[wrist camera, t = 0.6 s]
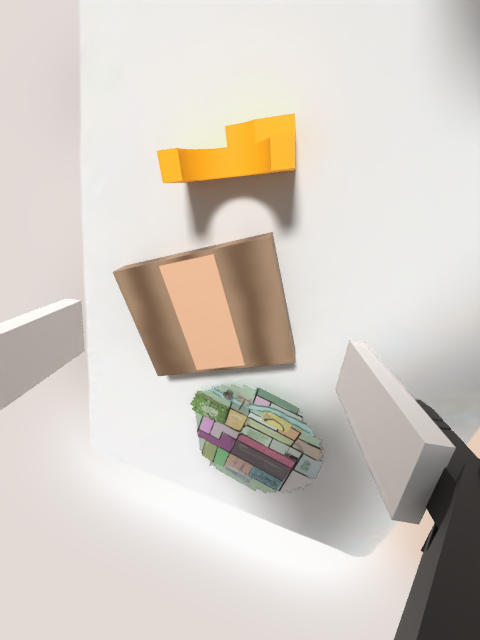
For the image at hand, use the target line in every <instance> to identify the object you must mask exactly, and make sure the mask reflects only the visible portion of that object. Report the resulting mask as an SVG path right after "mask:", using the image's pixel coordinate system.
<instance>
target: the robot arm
mask: <svg viewBox="0 0 480 640" xmlns="http://www.w3.org/2000/svg"><path fill="white" fill-rule="evenodd" d="M83 351H84V336H83V321H82V304H81V300H75V299H68V298H66V299H63V300H60V301H58V302H55V303H52V304H49V305H47V306H44V307H41V308H39V309H36V310H33V311H31V312H28V313H26V314H23V315H20V316H18V317H15V318H12V319H9V320H7V321H4V322H1V323H0V410H2V409H3V408H4V407H6V406H7V405H9V404H10V403H11V402H13V401H14V400H16V399H17V398H18V397H20V396H21V395H23V394H24V393H26V392H27V391H29V390H30V389H31V388H33V387H34V386H36V385H37V384H38V383H40V382H41V381H43V380H44V379H45V378H47V377H48V376H50V375H51V374H53V373H54V372H55V371H57V370H58V369H60V368H61V367H62V366H64V365H65V364H66V363H68V362H70V361H71V360H72V359H73V358H75V357H77V356H78V355H79V354H81V353H82V352H83ZM336 392H337V394H338V397H339V399H340V401H341V403H342V406H343V408H344V410H345V413H346V415H347V417H348V420H349V422H350V424H351V427H352V429H353V431H354V434H355V436H356V438H357V441H358V443H359V445H360V447H361V450H362V452H363V454H364V457H365V459H366V461H367V464H368V466H369V468H370V471H371V473H372V475H373V478H374V480H375V482H376V485H377V487H378V489H379V491H380V494H381V496H382V498H383V501H384V503H385V505H386V508H387V510H388V512H389V515H390V517H391V519H392V520H397V521H403V522H408V523H414V524H419V523H420V521H421V519H422V517H423V515H424V513H425V511H426V509H427V510H428V512H429V513H430V515H431V517H432V519H433V520H434V522H435V524H434V526H433V527H432V530H431V531H430V533H429V535H428V537H427V539H426V541H425V544H424V546H423V547H422V549H421V551H422V552H423V555H422V558H421V561H420V564H419V567H418V570H417V573H416V576H415V579H414V582H413V585H412V588H411V591H410V594H409V597H408V599H407V602H406V606H405V608H404V611H403V614H402V617H401V620H400V623H399V626H398V629H397V632H396V635H395V638H394V640H480V459H478V458H477V457H476V456H475V454H474V453H473V452H472V451H471V450H470V449H469V448H468V447H467V446H466V445H465V443H464V442H463V441H462V440H461V439H460V438H459V437H458V436H457V435H456V434H455V433H454V431H451V428H450V427H449V426H448V425H447V424H446V423H445V422H443V419H442V418H441V417H440V416H439V415H438V414H437V413H436V412H435V411H434V410H433V409H432V408H430V407H429V406H428V405H426V404H425V403H423V402H422V401H421V400H416V399H414V398H413V397H412V396H411V395H410V394H409V392H408V391H407V390H406V389H405V388H404V387H403V385H402V384H401V383H400V382H399V381H398V380H397V378H396V377H395V376H394V375H393V374H392V373H391V371H390V370H389V369H388V368H387V367H386V366H385V364H384V363H383V362H382V361H381V360H380V359H379V357H378V356H377V355H376V354H375V353H374V352H373V350H372V349H371V348H370V347H369V346H368V345H367V343H366V342H359V341H352V340H349V343H348V347H347V350H346V354H345V358H344V361H343V365H342V368H341V372H340V375H339V379H338V383H337V386H336Z"/></svg>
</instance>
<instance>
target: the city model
mask: <svg viewBox="0 0 480 640" xmlns="http://www.w3.org/2000/svg"><path fill="white" fill-rule="evenodd" d="M202 388H203V387H202ZM211 391H212V392H211ZM211 391H209V390H208V391H205V393H203V392H202V391H198V392H197V394H195V395H196V397H194V398H193V399H194V400H193V401H192V403H190V404H191V405H193V406H195V407H194V408H192V409H193V410H194V411H196V419H197V427H198V430H197V432H198V436H199V444H200V450H201V451H202V455H203V456H205V457H206V458H208V459H209V460H211V461H212V462H211V461H210V462H211V463H212V465H213V466H215V467H216V469H218V470H220V471H221V472H223V473H225V474H227V475H228V476H230V477H232V478H234V479H235V480H237V481H239V482H241V483H242V484H244V485H246V486H248V487H249V488H251V489H253V490H254V491H255V490H256V489H257V488H258V489H260V490H261V491H263V492H265V493H266V492H267V491H268V492H276V491H277V490H278V491H280V492H282V493H283V492H286V491H287V492H289V493H290V492H291V490H293V489H294V490H296V489H297V488H300V487H301V488H303V489H304V488H305V486H306V484H307V485H310V483H311V481H312V480H313V478H314V479H316V477H317V474H318V472H319V470H320V468H321V466H322V464H323V462H321V460H320V458H321V457H322V456H323V454H322V453H320V452H321V451H322V450H323V449H324V448H322V447H321V446H320V445H319V444H320V443H321V441H322V440H320V439H318V438H316V437H314V434H313V430H312V429H310V428H309V427H308V426H307V425H306V423H304V422H302V419H303V417H302V416H300V415H298V414H296V413H297V411H298V410H299V408H297V407H295V406H293V405H291V404H290V403H288V402H286V401H284V400H282V399H280V398H278V397H276V396H274V395H272V394H270V393H268V392H266V391H264V390H263V389H261V388H259V389H258V388H257V390H256V391H255V390H254V389H252V388H250V387H248V386H246V385H244V386H243V388H242V389H241V388H239V387H237V386H235V385H231V389H230V388H228V387H226V386H224V385H221V387H218V386H217V388H215V387H214V386H213V387H212V390H211ZM248 409H249V410H248ZM211 463H210V465H211Z"/></svg>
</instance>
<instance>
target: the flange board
mask: <svg viewBox="0 0 480 640" xmlns="http://www.w3.org/2000/svg"><path fill="white" fill-rule="evenodd" d="M113 274H114V276H115V279H116V281H117V283H118V285H119V288H120V290H121V292H122V295H123V297H124V299H125V301H126V304H127V306H128V308H129V311H130V313H131V315H132V318H133V320H134V322H135V324H136V327H137V329H138V331H139V334H140V336H141V338H142V340H143V343H144V345H145V347H146V350H147V352H148V354H149V357H150V359H151V361H152V363H153V366H154V368H155V370H156V373H157V375H158V376H165V375H175V374H186V373H196V372H206V371H217V370H227V369H237V368H248V367H258V366H269V365H279V364H289V363H295V346H294V341H293V336H292V331H291V326H290V320H289V315H288V310H287V305H286V300H285V295H284V289H283V284H282V279H281V274H280V269H279V264H278V259H277V253H276V248H275V243H274V238H273V233H272V232H271V233H267V234H263V235H258V236H254V237H250V238H245V239H241V240H236V241H232V242H228V243H223V244H219V245H214V246H210V247H206V248H201V249H197V250H192V251H188V252H184V253H179V254H175V255H171V256H166V257H162V258H157V259H153V260H149V261H144V262H140V263H135V264H131V265H127V266H124V267H122V268H120V269H118V270H116V271H114V272H113Z"/></svg>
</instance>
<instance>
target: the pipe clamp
mask: <svg viewBox="0 0 480 640" xmlns="http://www.w3.org/2000/svg"><path fill="white" fill-rule="evenodd" d="M225 128H226V138H227V148H217V149H197V150H193V149H179V148H174V149H167V150H159V151H157V154H158V159H159V165H160V170H161V175H162V181H163V183H188V182H197V181H206V180H215V179H224V178H233V177H241V176H250V175H259V174H268V173H277V172H286V171H295V114H288V115H282V116H275V117H269V118H262V119H256V120H252V121H248V122H245V123H240V124H235V125H229V126H225Z"/></svg>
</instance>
